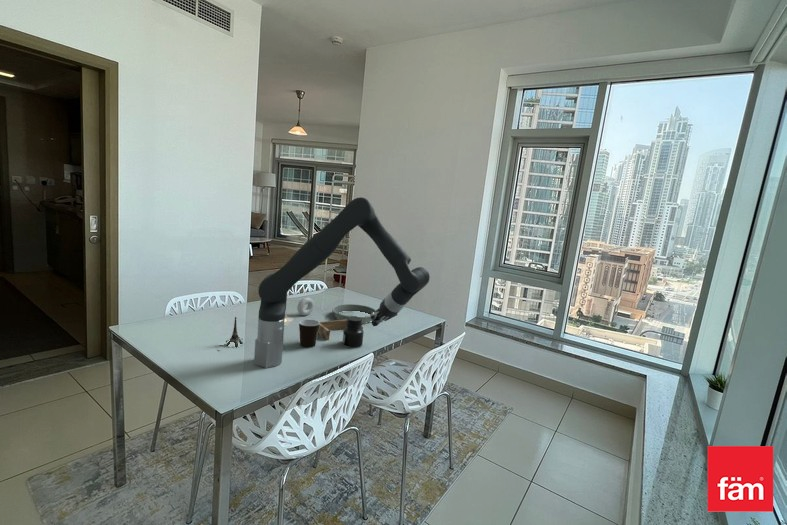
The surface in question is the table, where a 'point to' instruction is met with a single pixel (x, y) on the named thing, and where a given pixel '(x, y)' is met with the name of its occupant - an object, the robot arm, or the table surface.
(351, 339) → the ink bottle
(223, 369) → the table surface
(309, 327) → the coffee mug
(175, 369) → the table surface
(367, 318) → the cake pan
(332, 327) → the corral
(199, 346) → the table surface
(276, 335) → the robot arm
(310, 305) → the donut
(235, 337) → the eiffel tower figurine
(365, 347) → the table surface
